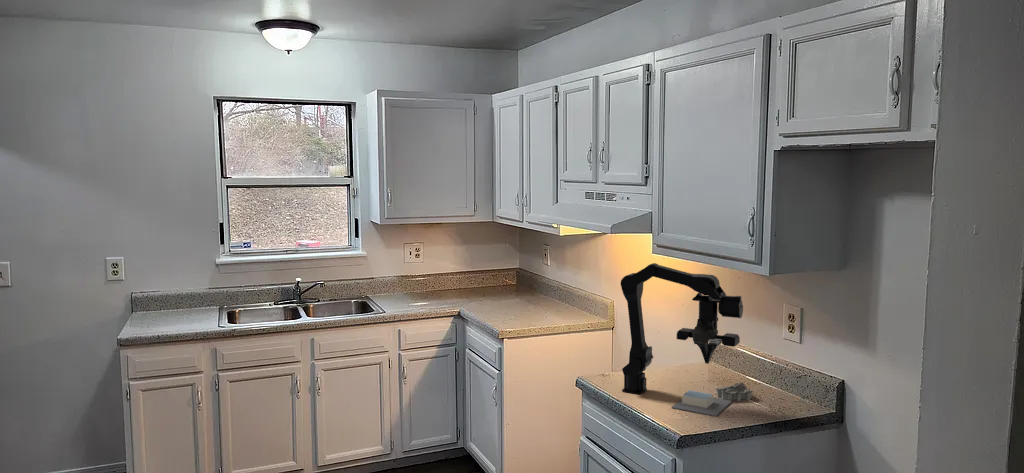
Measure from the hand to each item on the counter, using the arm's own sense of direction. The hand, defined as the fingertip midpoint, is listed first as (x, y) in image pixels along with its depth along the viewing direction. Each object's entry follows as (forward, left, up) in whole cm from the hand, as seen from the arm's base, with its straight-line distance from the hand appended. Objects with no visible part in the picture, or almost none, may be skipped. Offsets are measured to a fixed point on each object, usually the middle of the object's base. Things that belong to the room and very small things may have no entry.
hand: (707, 363), depth 226 cm
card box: (+2, -4, -11) cm, 12 cm away
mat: (0, -4, -12) cm, 13 cm away
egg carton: (+6, +9, -13) cm, 17 cm away
